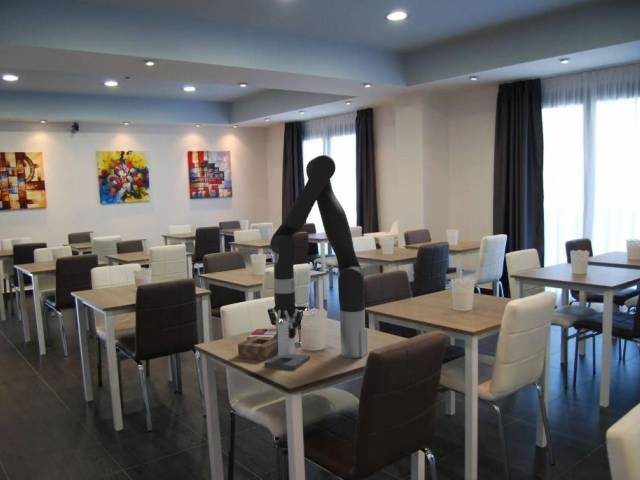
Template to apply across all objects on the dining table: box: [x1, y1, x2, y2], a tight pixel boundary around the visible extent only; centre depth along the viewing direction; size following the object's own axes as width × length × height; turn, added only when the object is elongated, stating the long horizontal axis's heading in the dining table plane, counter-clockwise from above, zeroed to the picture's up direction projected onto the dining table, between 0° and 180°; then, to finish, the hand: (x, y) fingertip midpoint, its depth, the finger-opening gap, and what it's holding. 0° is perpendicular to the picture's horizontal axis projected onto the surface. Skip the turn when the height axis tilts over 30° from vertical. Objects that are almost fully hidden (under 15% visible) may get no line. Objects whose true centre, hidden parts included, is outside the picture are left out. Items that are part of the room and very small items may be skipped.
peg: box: [277, 321, 296, 358], centre depth 193 cm, size 4×4×12 cm
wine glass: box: [290, 305, 310, 348], centre depth 215 cm, size 8×8×15 cm
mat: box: [264, 353, 311, 371], centre depth 193 cm, size 12×12×2 cm
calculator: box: [246, 328, 278, 340], centre depth 223 cm, size 11×4×15 cm
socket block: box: [237, 336, 278, 361], centre depth 205 cm, size 12×12×5 cm
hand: (286, 337), depth 193 cm, fingers closed on peg, 4 cm apart
